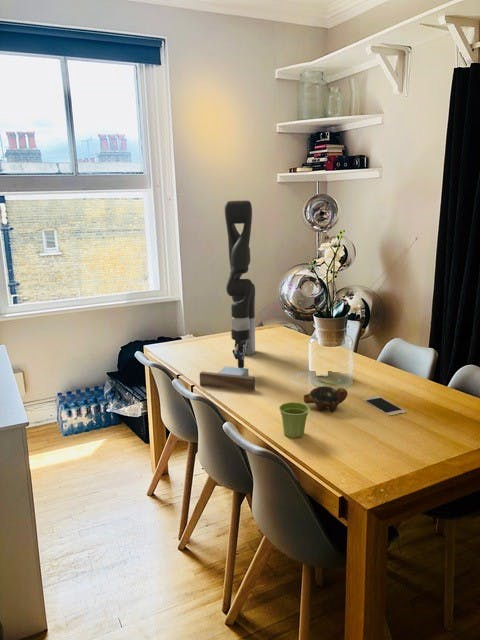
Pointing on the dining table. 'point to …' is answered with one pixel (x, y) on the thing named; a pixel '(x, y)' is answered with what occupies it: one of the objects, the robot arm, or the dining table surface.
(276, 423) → the dining table surface
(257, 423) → the dining table surface
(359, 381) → the dining table surface
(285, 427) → the plant pot
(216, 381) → the board
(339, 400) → the decorative turtle
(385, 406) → the smartphone
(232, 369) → the block
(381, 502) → the dining table surface
